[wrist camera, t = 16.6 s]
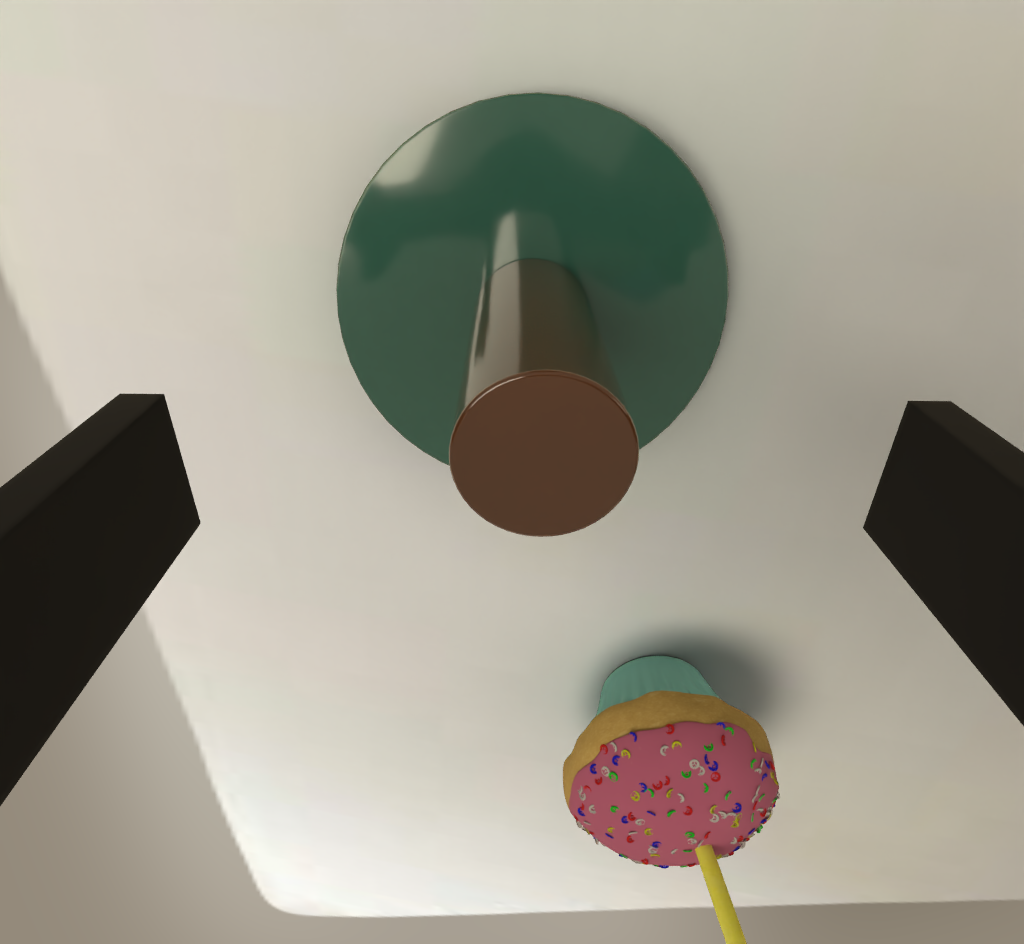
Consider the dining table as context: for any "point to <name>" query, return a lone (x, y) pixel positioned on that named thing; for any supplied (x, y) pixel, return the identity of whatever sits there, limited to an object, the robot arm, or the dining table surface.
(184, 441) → the dining table surface
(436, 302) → the canister lid
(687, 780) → the cupcake
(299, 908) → the dining table surface
